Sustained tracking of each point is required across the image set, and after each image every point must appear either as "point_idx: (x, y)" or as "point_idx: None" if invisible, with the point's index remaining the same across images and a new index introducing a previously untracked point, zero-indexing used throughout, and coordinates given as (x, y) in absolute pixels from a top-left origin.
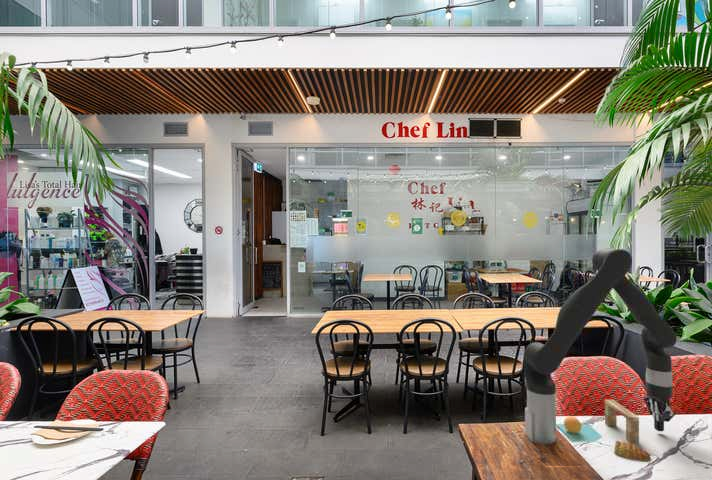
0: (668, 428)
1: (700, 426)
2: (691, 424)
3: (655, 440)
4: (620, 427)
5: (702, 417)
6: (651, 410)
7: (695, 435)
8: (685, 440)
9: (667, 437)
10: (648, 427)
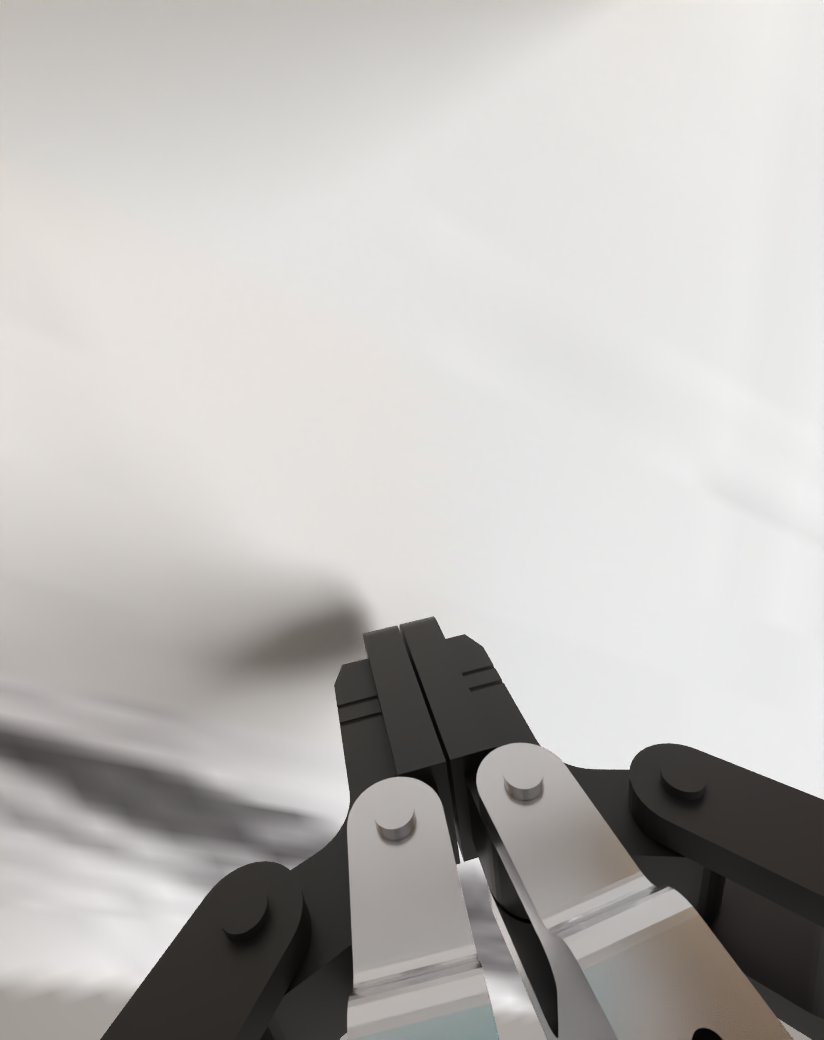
0: None
1: None
2: None
3: (93, 484)
4: (588, 51)
5: None
6: (664, 908)
7: None
8: (231, 851)
9: (279, 690)
10: (585, 561)
